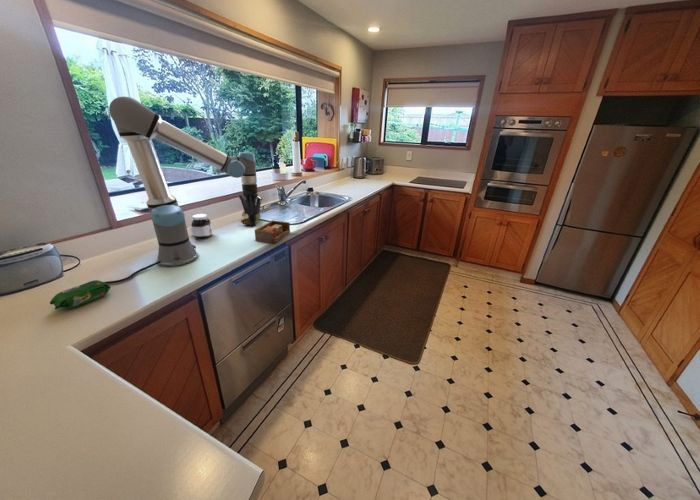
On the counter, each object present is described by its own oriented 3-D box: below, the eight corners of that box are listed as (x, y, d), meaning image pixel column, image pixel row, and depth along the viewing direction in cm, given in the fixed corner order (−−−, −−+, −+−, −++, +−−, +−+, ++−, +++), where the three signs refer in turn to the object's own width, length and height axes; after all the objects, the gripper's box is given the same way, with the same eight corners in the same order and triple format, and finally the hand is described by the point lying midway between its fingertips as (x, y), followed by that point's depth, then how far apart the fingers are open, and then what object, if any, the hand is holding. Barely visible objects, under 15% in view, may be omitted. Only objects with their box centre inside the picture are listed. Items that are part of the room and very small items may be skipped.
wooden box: (274, 243, 146) (273, 232, 144) (255, 240, 149) (254, 230, 146) (290, 232, 162) (289, 222, 160) (273, 229, 165) (272, 220, 162)
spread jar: (205, 240, 147) (202, 218, 143) (184, 239, 147) (180, 217, 143) (216, 232, 158) (213, 212, 154) (196, 231, 158) (192, 211, 154)
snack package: (48, 309, 90) (42, 296, 88) (105, 287, 103) (100, 275, 101) (59, 316, 87) (52, 303, 85) (116, 292, 100) (111, 280, 98)
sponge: (258, 228, 170) (265, 212, 186) (253, 217, 166) (261, 201, 182) (237, 231, 171) (246, 215, 187) (232, 220, 167) (242, 204, 183)
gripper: (264, 183, 147) (267, 226, 157) (243, 181, 150) (247, 223, 160) (256, 185, 141) (259, 230, 150) (234, 183, 144) (238, 226, 153)
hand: (253, 226), depth 155 cm, fingers closed
